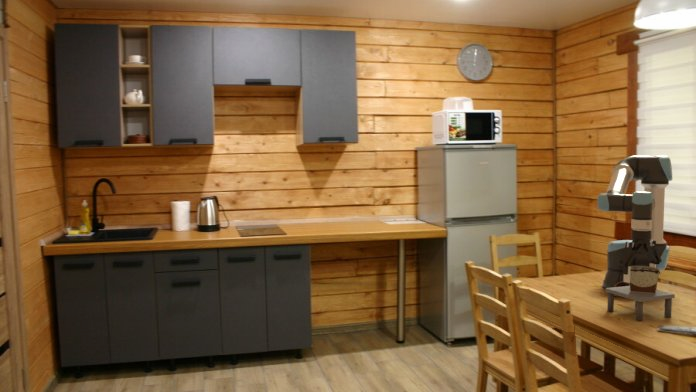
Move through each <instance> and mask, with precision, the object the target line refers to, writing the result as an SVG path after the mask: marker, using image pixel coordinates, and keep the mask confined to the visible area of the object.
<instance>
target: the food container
mask: <svg viewBox="0 0 696 392" xmlns="http://www.w3.org/2000/svg"><path fill="white" fill-rule="evenodd" d="M629 267H631V269H630V283H629V284H630V292H640V293H653V294H656V289H657V288H658V281H659V275H661V270H659V269H658V268H654V267H648V266H629ZM657 290H658V289H657Z"/></svg>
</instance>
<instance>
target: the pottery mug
mask: <svg viewBox="0 0 696 392" xmlns="http://www.w3.org/2000/svg"><path fill="white" fill-rule="evenodd" d="M626 285H627V286H630V284H629V283H627V282H623V281H622V282H619V283H617V284H615V286H614V287H622V286H626ZM616 297H618V295H615V294H614V298H616Z"/></svg>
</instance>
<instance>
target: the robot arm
mask: <svg viewBox="0 0 696 392" xmlns="http://www.w3.org/2000/svg"><path fill="white" fill-rule="evenodd" d="M610 173H611V178H610V182H609V184H608V186H607V188H606V192H604V193H599V194H598V195H597V202H596V203H597V209H598V210H599V211H602V212H622V213H631V220H630V222H631V225H630V228H631V230H630V238H631V239H622V240H621V239H618V240H614V241H610V242H609V243H608V244H607V250H606V252H607V260H606V262H607V263H606V266H607V267H606V273H605V277H604V279H603V280H602V287H603V288H605V289H606V288H612V287H614V286H615V284H617V283H619V282H622V281H623V282H627V283H630V269H631V267H629V266H648V267H654V268H658V269H659V271H664V270H665V269H666V267H667V264H668V262H669V255H670V249H671V248H670V246H669V245H667V241H666V239H664V224H665V223H664V222H665V221H664V220H665V192H666V191H665V190H666V188H667V187H668V186H669V184H670V183H669V182H672V181H673V166H672V161H671V158H670V157H669V156H668V155H659V154H658V155H631V156H627V157H625V158H622V159H620V160H619V161H618V162H616V164H615V165H614V166H613V167H612V169H611V172H610ZM632 180H633V181H635V180H637V181H640V184H641V185H642V186H643V188H644V190H643V191H634V192H632V194H626V192H627V189H628V186H629V182H631V181H632ZM626 286H627V285H626Z"/></svg>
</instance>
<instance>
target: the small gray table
mask: <svg viewBox="0 0 696 392" xmlns="http://www.w3.org/2000/svg"><path fill="white" fill-rule="evenodd" d="M605 292H606V293H607V310H606V311H607V312H610V313H611V312H614V311H615V310H614V309H615V296H614V294H615V295H618V296H619V297H622V298H625V299H628V300H632V301H635V302H634V307H635V321H636V322H643V316H644V314H643V312H644V303H645V302H652V301H658V300H659V301H660V300H664V318H670V319H671V318H672V309H673V308H672V305H673V299H675V298H676V297H675V293H671V292H667V291H664V290H659V289H656V294H653V293H640V292H630V286H622V287H612V288H605ZM618 296H617V297H618Z"/></svg>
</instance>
